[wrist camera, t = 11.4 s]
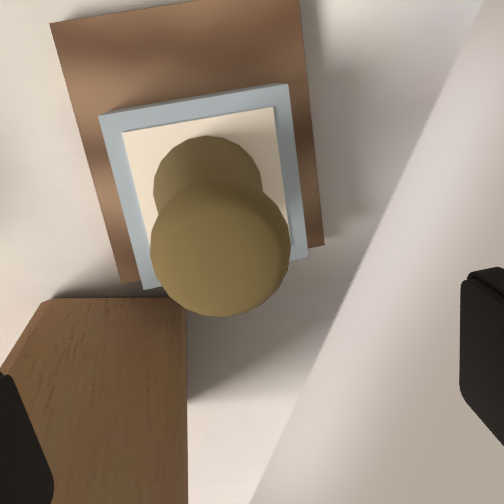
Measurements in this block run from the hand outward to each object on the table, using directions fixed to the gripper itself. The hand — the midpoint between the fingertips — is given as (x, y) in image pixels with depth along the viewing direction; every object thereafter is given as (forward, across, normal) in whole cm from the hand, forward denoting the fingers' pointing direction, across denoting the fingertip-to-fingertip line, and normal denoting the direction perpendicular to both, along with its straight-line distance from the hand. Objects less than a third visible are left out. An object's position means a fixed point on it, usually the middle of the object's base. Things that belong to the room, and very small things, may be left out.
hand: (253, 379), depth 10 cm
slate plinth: (+22, 0, 0) cm, 22 cm away
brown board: (+23, 0, -2) cm, 23 cm away
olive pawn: (+18, 0, 0) cm, 18 cm away
